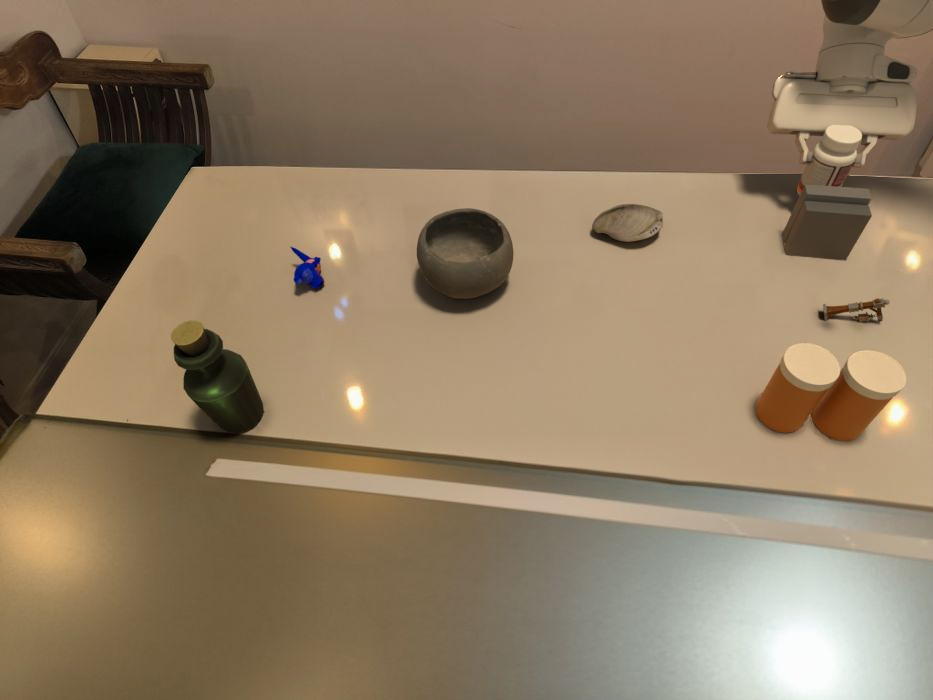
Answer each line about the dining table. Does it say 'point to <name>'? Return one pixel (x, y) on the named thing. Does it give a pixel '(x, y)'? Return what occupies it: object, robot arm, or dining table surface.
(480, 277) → the bowl
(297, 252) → the figurine
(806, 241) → the grey boxes
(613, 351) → the dining table surface
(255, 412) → the potion bottle
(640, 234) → the seashell
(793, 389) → the matching pill bottles
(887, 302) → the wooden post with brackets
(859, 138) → the pill bottle
